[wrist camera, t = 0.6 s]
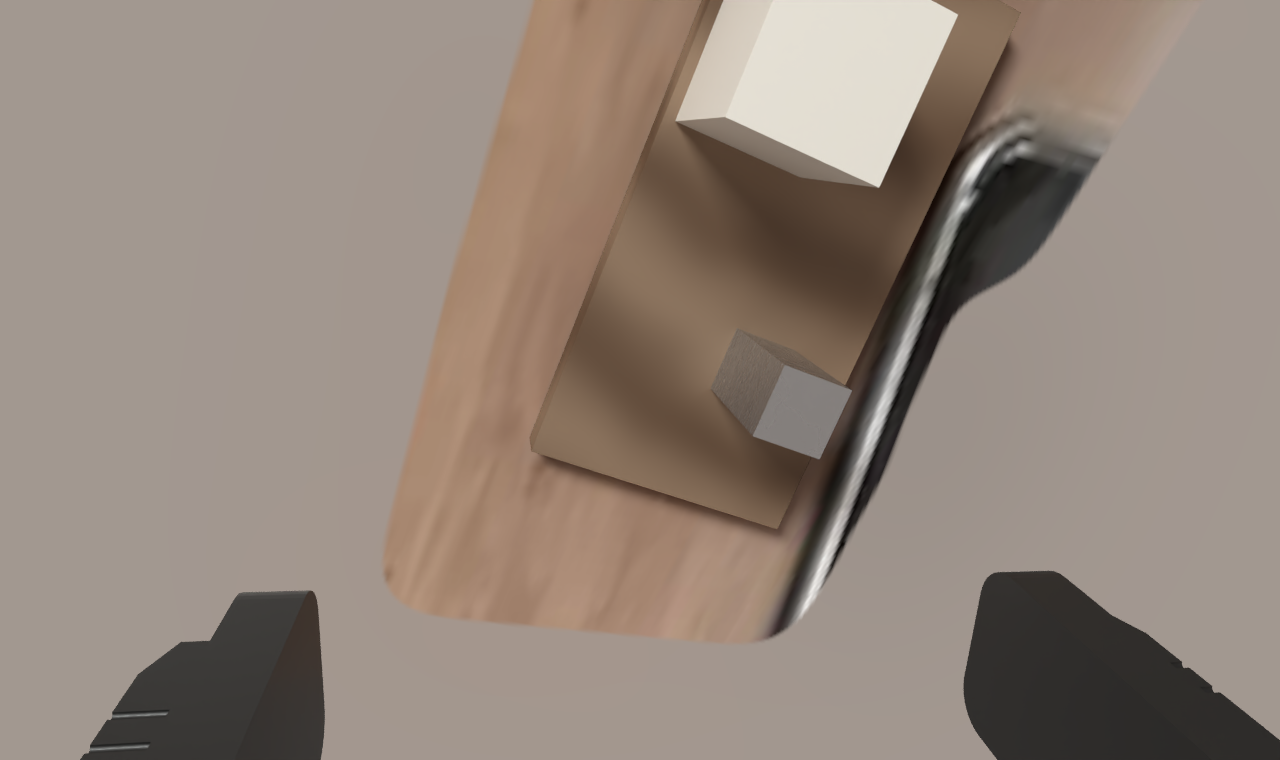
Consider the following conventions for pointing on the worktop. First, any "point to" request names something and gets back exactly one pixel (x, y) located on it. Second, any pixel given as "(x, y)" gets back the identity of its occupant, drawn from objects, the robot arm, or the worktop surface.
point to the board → (743, 284)
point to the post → (779, 394)
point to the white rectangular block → (816, 81)
